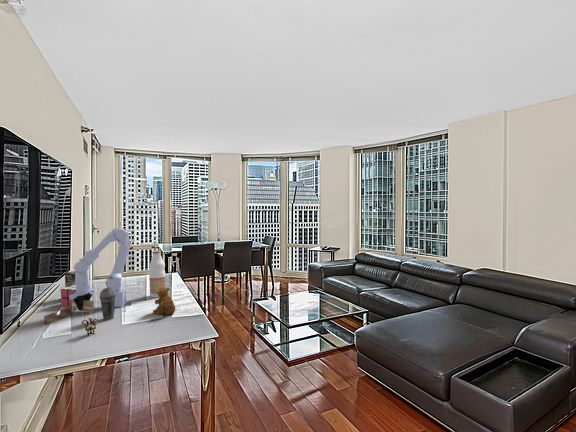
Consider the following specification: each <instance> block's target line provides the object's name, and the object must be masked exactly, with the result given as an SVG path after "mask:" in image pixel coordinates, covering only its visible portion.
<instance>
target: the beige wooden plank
mask: <svg viewBox="0 0 576 432" xmlns="http://www.w3.org/2000/svg"><path fill="white" fill-rule="evenodd" d="M75 312H78V308H77V305H76V303H75V302H74V300H73V301H72V313H75ZM84 312H89V314H93V313H94V312H95V301H94V300H90V301H88V300H83V309H82V310H79V313H84Z"/></svg>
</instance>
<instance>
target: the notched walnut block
mask: <svg viewBox="0 0 576 432" xmlns="http://www.w3.org/2000/svg"><path fill="white" fill-rule="evenodd" d="M72 315H73V312H72V307H67V306H66V307H64V308H62V309H60V310H59V314H58V312H51V313H49V314H47V315H44V316H43V320H44V322H43V323H44V325H50V324H52V323H55V322H57V321H60V320H63V319H65V318H67V317H69V316H70V317H71V316H72Z"/></svg>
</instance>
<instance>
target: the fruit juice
mask: <svg viewBox="0 0 576 432" xmlns="http://www.w3.org/2000/svg"><path fill="white" fill-rule="evenodd" d="M151 253H152V258H151V260H150V262H149V266H148V268H149V277H148V278H149V295H150V296H149V297H151V298H153V299H154V298H159V297H158V293H157V292H158V290H159V289H160V288H162V287H165V288H167V283H166V282H167V281H166V280H167V278H166V276H167V275H166V271H165V267H166V263H165V261H164V260H163V257H162V255H161V254H162V251H161V250H153V251H152V252H151ZM156 293H157V294H156ZM155 294H156V295H155Z"/></svg>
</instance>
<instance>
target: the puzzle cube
mask: <svg viewBox="0 0 576 432" xmlns="http://www.w3.org/2000/svg"><path fill="white" fill-rule="evenodd" d="M88 289H90V286H89V285H88ZM75 292H76V285H73V286H69V287H66V288H65V287H63V288H61V289H60V306H61V307H66V308H67V307H72V301H73V299H69V296H70V295H72V294H74V293H75Z"/></svg>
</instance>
